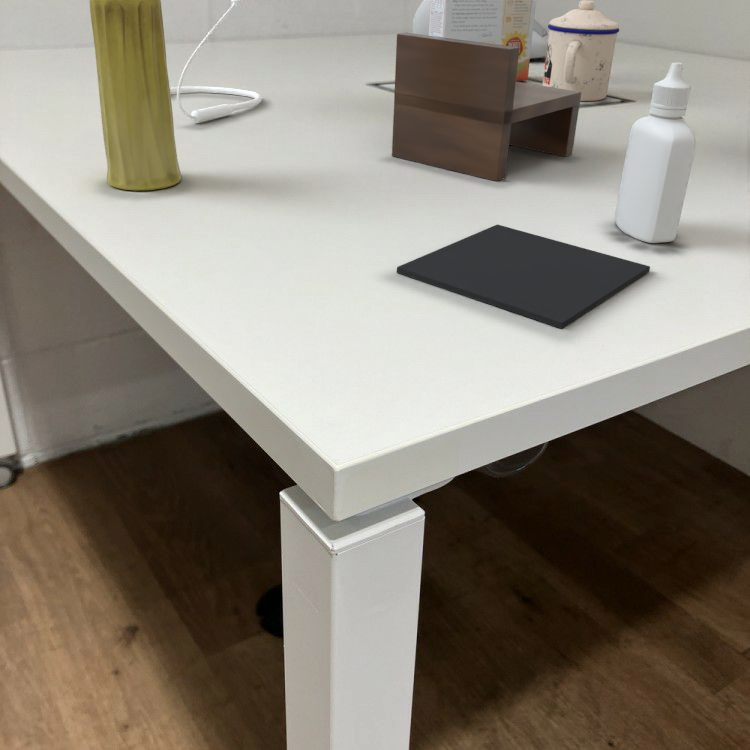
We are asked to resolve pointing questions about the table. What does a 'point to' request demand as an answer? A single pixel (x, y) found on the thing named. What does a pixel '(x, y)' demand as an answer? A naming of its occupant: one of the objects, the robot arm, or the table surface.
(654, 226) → the eye dropper bottle
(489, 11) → the cracker box
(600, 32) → the teacup with lid
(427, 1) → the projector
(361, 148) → the table surface
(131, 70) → the vase
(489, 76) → the shelf
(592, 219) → the table surface
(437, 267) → the mat
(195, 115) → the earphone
